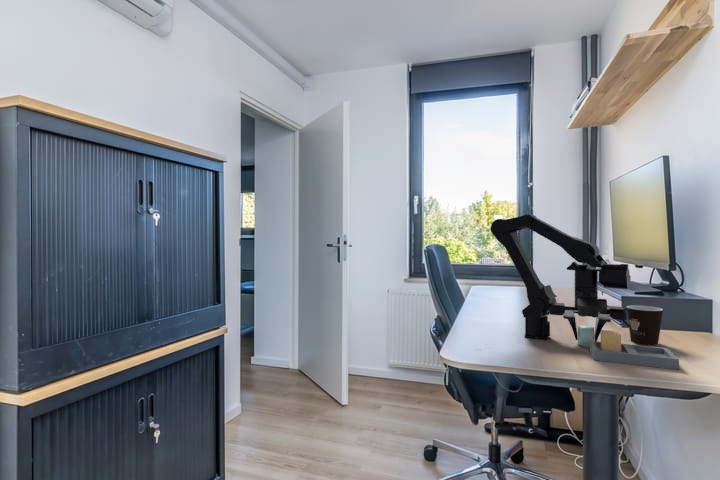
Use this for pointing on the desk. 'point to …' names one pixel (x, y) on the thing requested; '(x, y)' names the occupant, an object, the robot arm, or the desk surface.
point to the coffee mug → (644, 324)
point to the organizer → (636, 355)
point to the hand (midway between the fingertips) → (585, 340)
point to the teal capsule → (585, 335)
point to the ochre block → (610, 341)
